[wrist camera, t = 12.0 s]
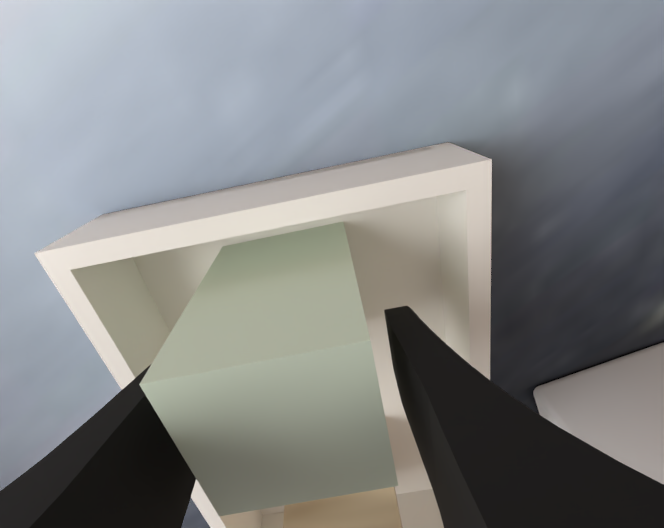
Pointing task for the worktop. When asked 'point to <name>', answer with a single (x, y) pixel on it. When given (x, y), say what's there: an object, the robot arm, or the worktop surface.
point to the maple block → (346, 511)
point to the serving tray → (289, 216)
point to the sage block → (275, 377)
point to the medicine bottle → (614, 408)
